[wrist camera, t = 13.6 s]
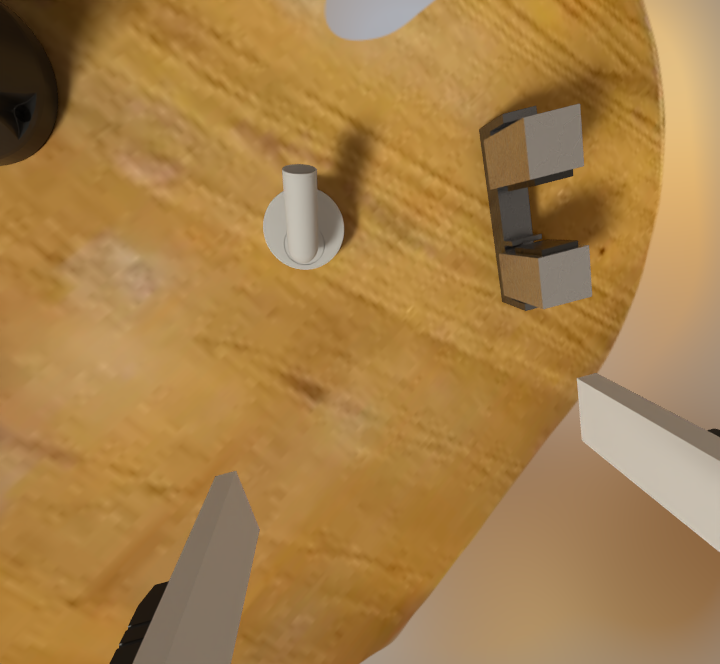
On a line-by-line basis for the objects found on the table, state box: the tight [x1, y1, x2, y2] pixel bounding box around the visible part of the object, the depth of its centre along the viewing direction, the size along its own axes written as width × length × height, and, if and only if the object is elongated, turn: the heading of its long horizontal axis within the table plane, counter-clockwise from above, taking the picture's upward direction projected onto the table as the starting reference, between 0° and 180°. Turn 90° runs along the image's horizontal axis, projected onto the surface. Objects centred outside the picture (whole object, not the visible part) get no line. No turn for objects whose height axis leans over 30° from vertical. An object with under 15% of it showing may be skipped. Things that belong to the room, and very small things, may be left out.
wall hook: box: [263, 164, 344, 270], centre depth 37 cm, size 9×10×10 cm
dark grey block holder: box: [479, 104, 584, 311], centre depth 38 cm, size 20×5×10 cm, turn 14°
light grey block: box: [499, 239, 592, 309], centre depth 39 cm, size 6×5×8 cm
